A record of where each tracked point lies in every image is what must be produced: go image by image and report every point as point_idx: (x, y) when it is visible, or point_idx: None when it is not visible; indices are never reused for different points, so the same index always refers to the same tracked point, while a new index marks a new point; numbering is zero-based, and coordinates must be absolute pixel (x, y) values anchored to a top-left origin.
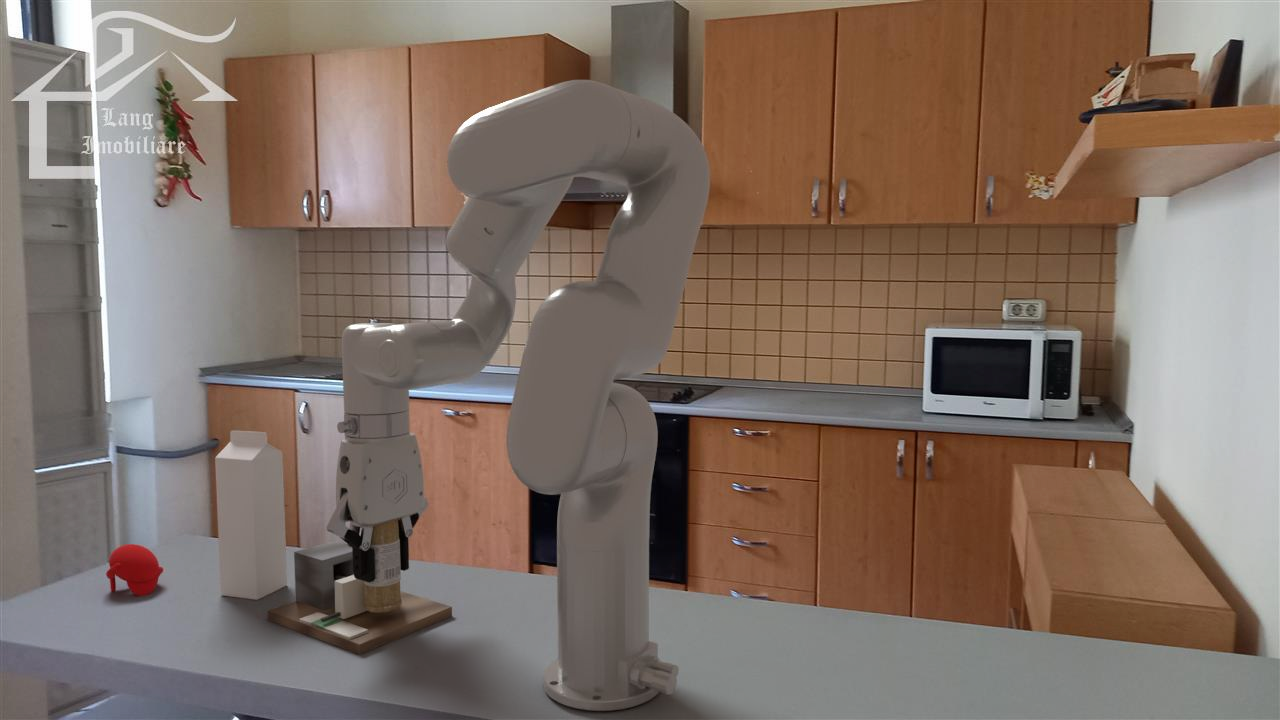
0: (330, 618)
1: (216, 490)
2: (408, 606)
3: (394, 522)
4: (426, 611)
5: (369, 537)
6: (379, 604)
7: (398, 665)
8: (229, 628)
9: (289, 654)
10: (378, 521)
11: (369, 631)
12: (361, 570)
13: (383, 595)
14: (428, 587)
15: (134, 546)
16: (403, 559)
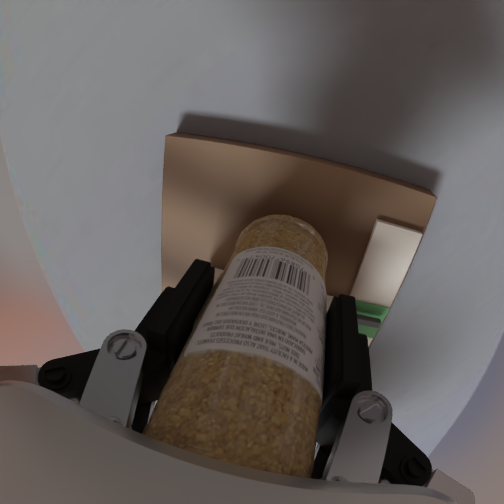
0: (364, 317)
1: None
2: (212, 227)
3: (202, 441)
4: (216, 169)
5: (352, 435)
6: (320, 248)
7: (443, 85)
8: None
9: (445, 303)
10: (370, 500)
11: (372, 219)
12: (366, 343)
13: (312, 252)
14: (107, 266)
15: None
16: (203, 286)
